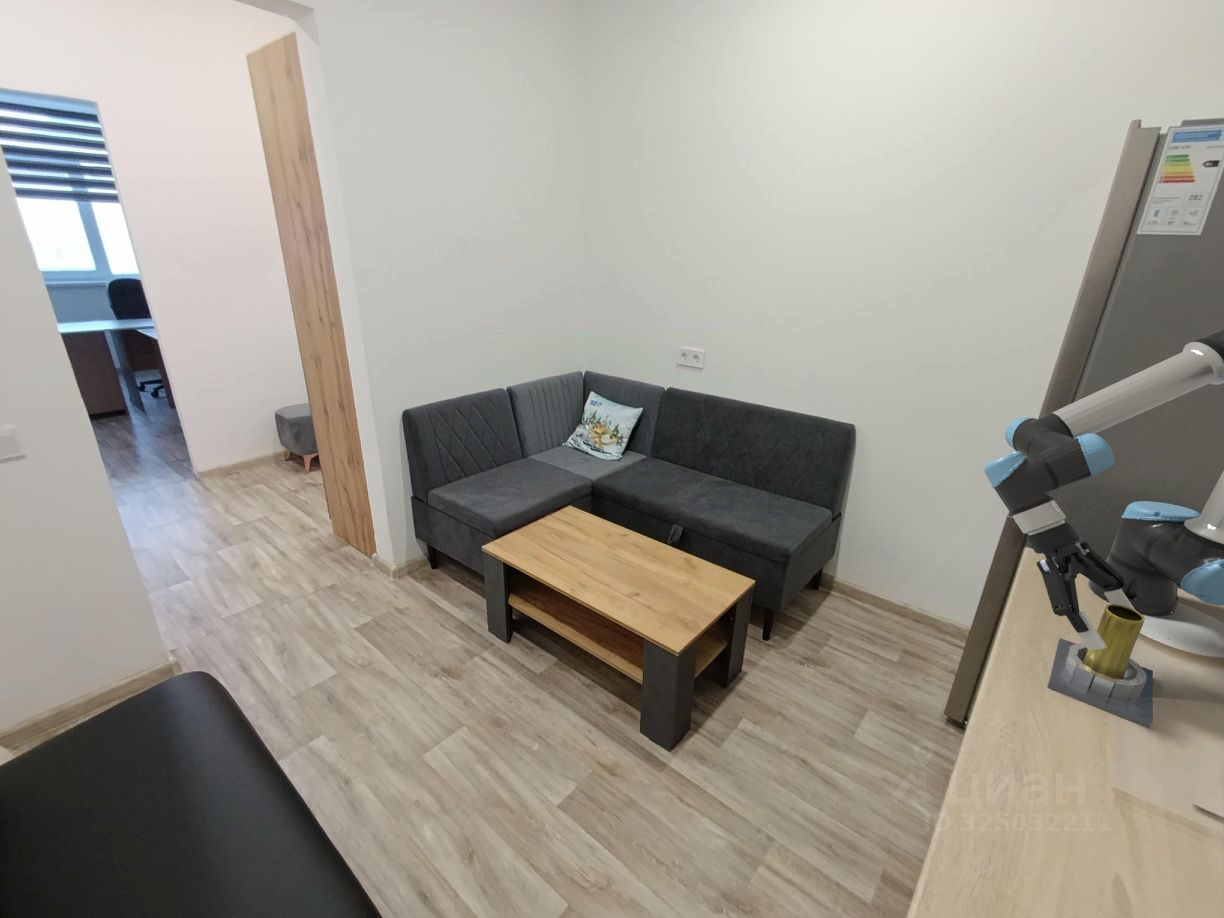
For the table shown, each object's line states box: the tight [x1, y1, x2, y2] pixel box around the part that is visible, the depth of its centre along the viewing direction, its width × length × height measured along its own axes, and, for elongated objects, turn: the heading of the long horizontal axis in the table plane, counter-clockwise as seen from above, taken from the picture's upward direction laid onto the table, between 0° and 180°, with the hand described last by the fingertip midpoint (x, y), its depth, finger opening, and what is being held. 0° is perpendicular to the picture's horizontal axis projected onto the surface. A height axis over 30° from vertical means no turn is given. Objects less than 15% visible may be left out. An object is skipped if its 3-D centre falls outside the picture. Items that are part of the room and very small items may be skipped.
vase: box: [1083, 603, 1145, 680], centre depth 99 cm, size 6×6×14 cm
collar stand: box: [1047, 638, 1154, 729], centre depth 102 cm, size 16×14×4 cm
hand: (1117, 636), depth 98 cm, fingers open, 13 cm apart
